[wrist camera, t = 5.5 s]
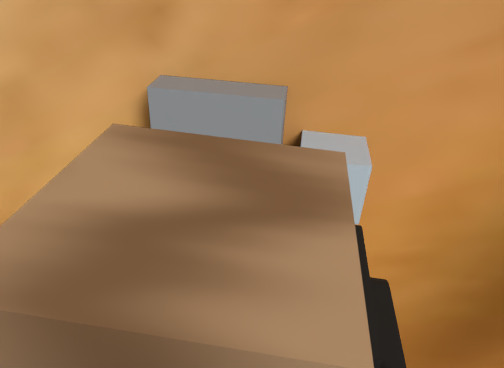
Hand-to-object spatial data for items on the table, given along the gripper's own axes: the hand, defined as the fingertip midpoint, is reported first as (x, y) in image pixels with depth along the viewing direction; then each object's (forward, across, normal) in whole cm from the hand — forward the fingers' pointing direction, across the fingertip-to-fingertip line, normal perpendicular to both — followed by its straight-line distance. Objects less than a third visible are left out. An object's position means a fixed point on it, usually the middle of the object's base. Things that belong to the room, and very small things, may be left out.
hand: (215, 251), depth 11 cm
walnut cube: (+1, 0, 0) cm, 1 cm away
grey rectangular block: (+22, +4, +7) cm, 23 cm away
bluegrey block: (+22, -5, +8) cm, 24 cm away
